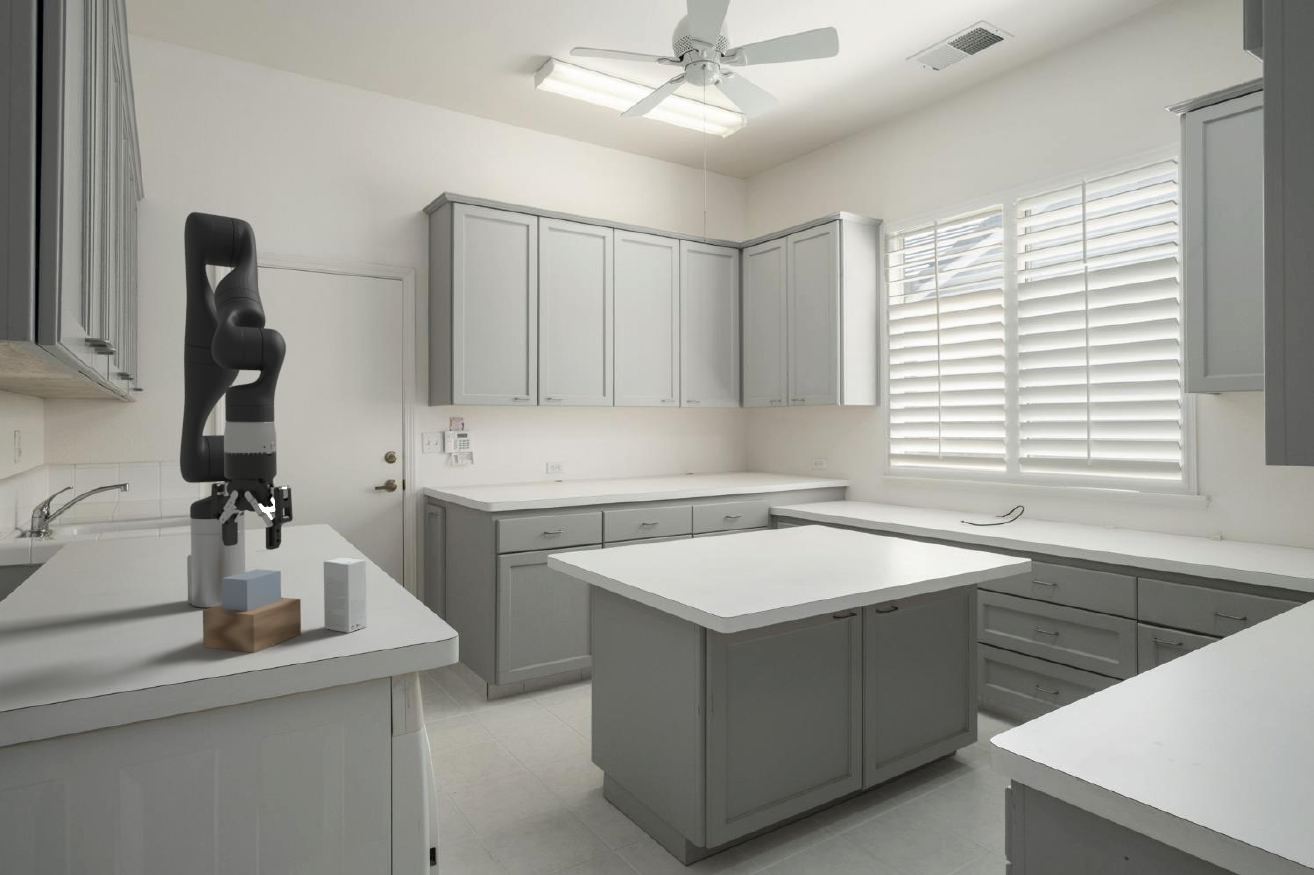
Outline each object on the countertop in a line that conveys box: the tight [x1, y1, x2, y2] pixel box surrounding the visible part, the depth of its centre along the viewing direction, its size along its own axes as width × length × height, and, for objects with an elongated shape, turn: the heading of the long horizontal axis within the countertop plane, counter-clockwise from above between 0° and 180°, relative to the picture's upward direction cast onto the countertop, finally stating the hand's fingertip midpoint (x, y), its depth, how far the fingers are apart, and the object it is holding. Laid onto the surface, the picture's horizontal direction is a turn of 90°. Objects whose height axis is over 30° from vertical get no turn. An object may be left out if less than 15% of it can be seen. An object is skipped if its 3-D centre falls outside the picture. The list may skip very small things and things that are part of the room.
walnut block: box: [202, 597, 302, 653], centre depth 120 cm, size 10×10×6 cm
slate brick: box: [222, 568, 282, 611], centre depth 120 cm, size 5×7×5 cm
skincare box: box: [323, 557, 368, 634], centre depth 127 cm, size 6×4×12 cm
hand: (251, 547), depth 120 cm, fingers open, 8 cm apart
